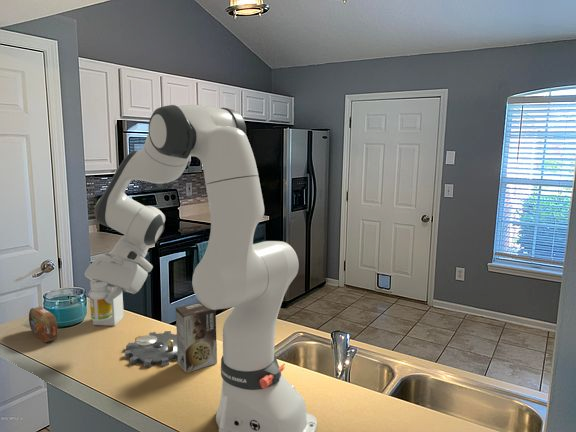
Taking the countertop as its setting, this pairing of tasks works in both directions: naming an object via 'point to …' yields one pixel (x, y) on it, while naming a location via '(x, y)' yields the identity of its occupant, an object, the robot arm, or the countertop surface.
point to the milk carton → (113, 310)
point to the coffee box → (196, 336)
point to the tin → (43, 324)
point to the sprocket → (153, 349)
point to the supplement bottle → (100, 302)
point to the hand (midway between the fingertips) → (98, 299)
